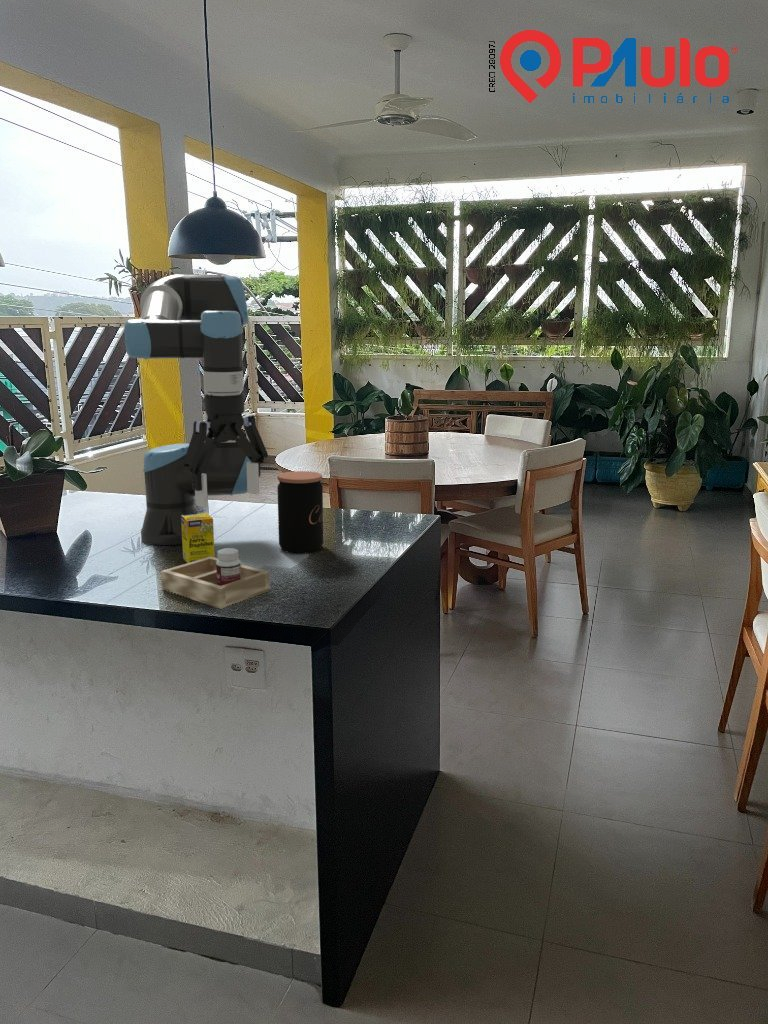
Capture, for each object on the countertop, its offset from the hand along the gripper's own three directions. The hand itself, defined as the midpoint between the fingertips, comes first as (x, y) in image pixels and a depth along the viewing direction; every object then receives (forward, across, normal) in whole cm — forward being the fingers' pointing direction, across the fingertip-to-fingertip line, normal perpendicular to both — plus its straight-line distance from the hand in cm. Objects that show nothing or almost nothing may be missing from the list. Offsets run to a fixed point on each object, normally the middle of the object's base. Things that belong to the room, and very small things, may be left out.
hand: (228, 499), depth 153 cm
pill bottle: (+18, -4, -4) cm, 18 cm away
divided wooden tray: (+18, -4, 0) cm, 19 cm away
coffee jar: (+19, +29, +7) cm, 35 cm away
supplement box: (+19, +6, +17) cm, 26 cm away
